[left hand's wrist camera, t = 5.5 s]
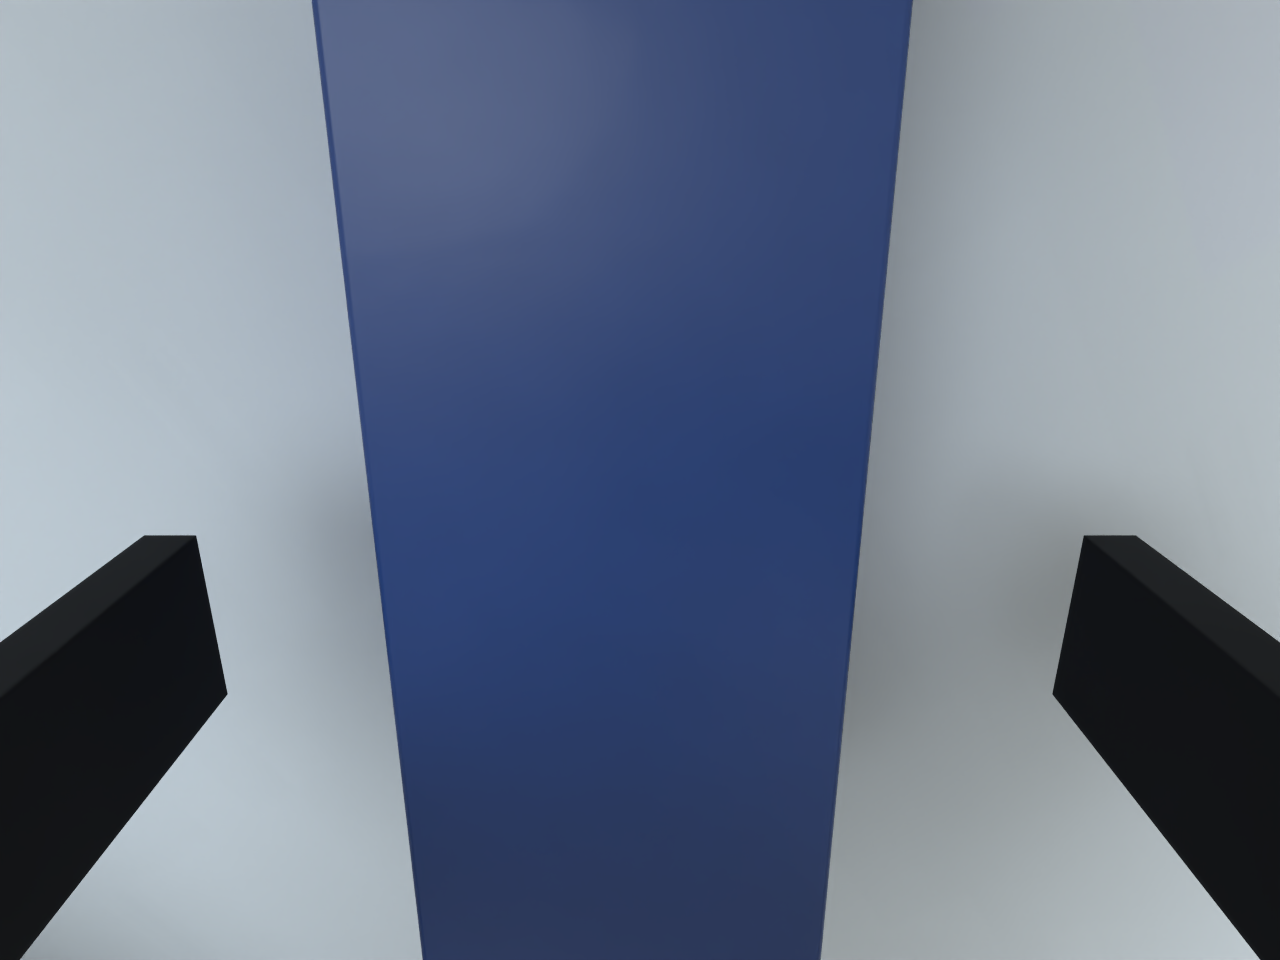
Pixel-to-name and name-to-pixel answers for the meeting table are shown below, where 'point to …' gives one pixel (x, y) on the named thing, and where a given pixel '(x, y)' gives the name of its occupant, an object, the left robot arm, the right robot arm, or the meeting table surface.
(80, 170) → the meeting table surface
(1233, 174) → the meeting table surface
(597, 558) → the blue block
